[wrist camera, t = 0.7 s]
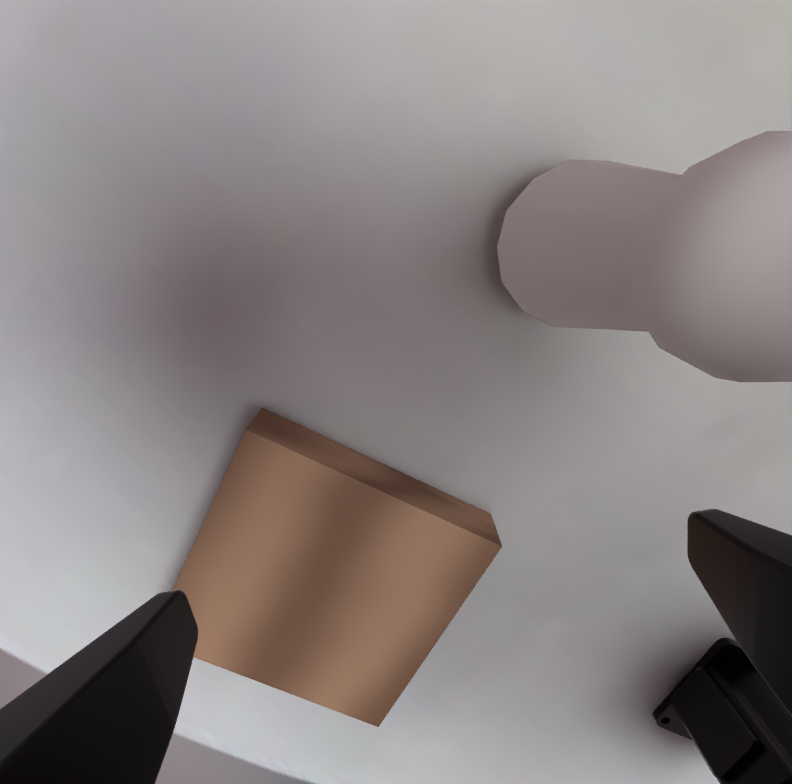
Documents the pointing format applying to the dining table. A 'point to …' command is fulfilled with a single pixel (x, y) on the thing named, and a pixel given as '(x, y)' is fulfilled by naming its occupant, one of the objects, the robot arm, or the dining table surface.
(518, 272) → the salt shaker
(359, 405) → the dining table surface
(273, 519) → the walnut riser block
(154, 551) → the dining table surface
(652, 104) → the dining table surface
